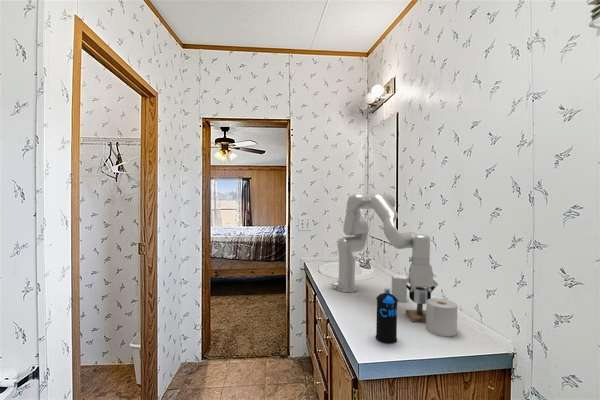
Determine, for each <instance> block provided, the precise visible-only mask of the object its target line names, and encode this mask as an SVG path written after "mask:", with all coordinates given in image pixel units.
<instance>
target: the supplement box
mask: <svg viewBox="0 0 600 400" xmlns="http://www.w3.org/2000/svg"><path fill="white" fill-rule="evenodd" d="M407 278H408V277H407V276H406V275H405V274H403V275H401V274H391V292H390V294H392V295H394V296H395V297H396V298H397V299H398V302H397V303H407V301H408V299H407V298H408V288H407V287H406V286H405V285H404V284H403V281H405V280H406V279H407Z"/></svg>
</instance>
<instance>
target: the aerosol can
mask: <svg viewBox="0 0 600 400" xmlns="http://www.w3.org/2000/svg"><path fill="white" fill-rule="evenodd" d="M390 291H391V289H390V287H384V292H382V293H379V295H377V296H376V323H375V324H376V326H375V327H376V331H375V332H376V333H375V334H376V335H375V339H376V340H377V341H378V342H381V343H384V344H394V343H396V342H397V341H398V338H397V336H398V335H397V334H398V333H397V330H398V329H397V328H398V327H397V326H398V303H399V302H398V299H397V298H396V297H395V296H394V295H392V294H391V292H390Z"/></svg>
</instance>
